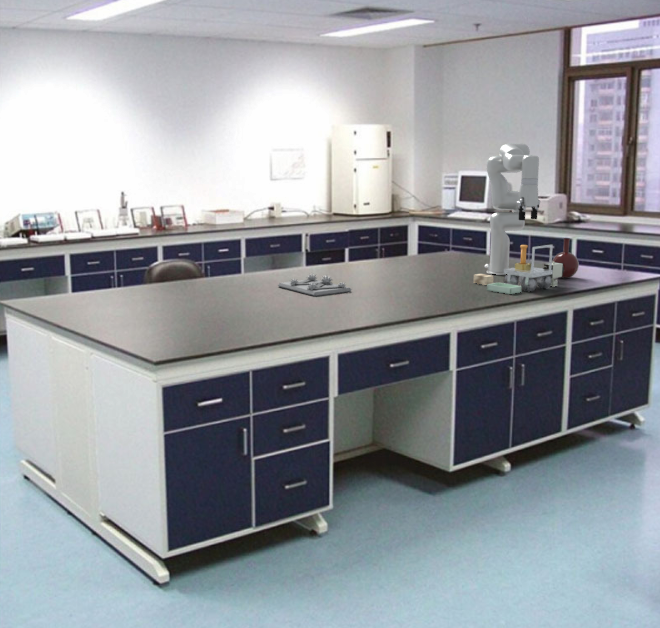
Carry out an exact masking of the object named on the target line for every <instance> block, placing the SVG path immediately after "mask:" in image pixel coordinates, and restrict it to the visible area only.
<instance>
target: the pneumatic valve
mask: <svg viewBox="0 0 660 628" xmlns="http://www.w3.org/2000/svg"><path fill="white" fill-rule="evenodd" d="M542 269H549V263H544V264H543V267H542ZM551 270H553V273H552V274H551V275H549V276H550V277H551V280H552V283H551V286H552V287H551V288H556V287H555V286H557V287H558V282H559V281H558V278H560V277H562V276H563V272H564V267H563V264H562V263H555V262H554V261H553V263H552V265H551Z"/></svg>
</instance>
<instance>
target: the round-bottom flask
mask: <svg viewBox="0 0 660 628" xmlns="http://www.w3.org/2000/svg"><path fill="white" fill-rule="evenodd" d="M570 240H571V238H568V237H565V238H564V237H563V251H562V252H558V253H556V255H555V256H554V257H552V263H553V261H554V262H555V263H562V264H563V267H564V272H563V276H562V277H559V278H560V279H569V278H572V277H573V276H575V275H576V274H577V272H578V270H579V264H580V263H579V260H578V258H577V256H576V255H575V254H573V253H572V252H569V250H570V249H569V248H570Z"/></svg>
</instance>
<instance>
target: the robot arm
mask: <svg viewBox="0 0 660 628" xmlns="http://www.w3.org/2000/svg"><path fill="white" fill-rule="evenodd" d="M529 148H530V147H529V146H528V145H527V144H526V143H505V144H502V146H500V149H499V155H493V156H490V157H489V158H488V159H487V162H486V163H487V164H486V172H487V176H488V178H489V182H490V187H491V188H490V189H491V193H490V194H491V204H492V208H493V209H494V210H497V211H498V212H497V211H496V212H494V213H492V214H491V215H490V218H489V224H490V225H489V226H490V254H489V255H490V257H489V263H485V264H484V266H483V267H484V268H485V269H487V270H486V274H487V275H492V274H496V275H495V276H506V274H504V269H508V268H510V267H509V264H510V262H509V261H510V245H511V244H510V243H511V241H510V237H509V235H508V233H507V232H510V231H511V232H517V231H522V230H523V229H524V228H525V224H526V223H525V222H526V209H527V208H530V209H531V211H530V220H538V211H539V208H540V204H541V200H539V199H540V198H539V186H538V185H539V170H540V169H539V166H540V158H539V156H538V155H533V154H530V149H529ZM520 172H521V182H520V183H521V185H520V187H519V191H518V190H517V191H515V190H514V191H513V190H509V182H508V180H507V179H506V177H505V176H504V175H503V173H516V174H517V173H520Z"/></svg>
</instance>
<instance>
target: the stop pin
mask: <svg viewBox="0 0 660 628" xmlns="http://www.w3.org/2000/svg"><path fill="white" fill-rule="evenodd" d="M528 246H529V245H527V244H521V245H520V246H519V248H520V262H521V263H520V262H519V263H520V264H526V263H527V249H528Z"/></svg>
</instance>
